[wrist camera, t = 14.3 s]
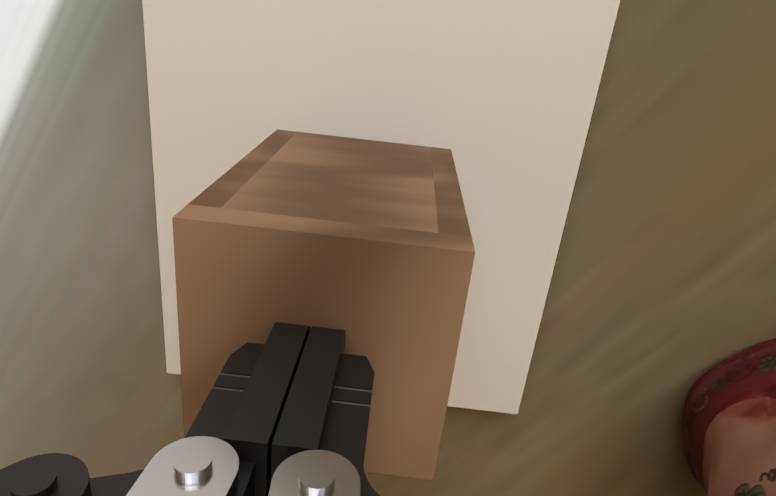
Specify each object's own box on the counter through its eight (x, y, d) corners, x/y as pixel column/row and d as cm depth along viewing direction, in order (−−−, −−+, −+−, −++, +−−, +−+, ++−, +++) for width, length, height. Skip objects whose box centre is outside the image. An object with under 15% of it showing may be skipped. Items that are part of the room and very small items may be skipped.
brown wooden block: (451, 149, 19) (475, 252, 11) (427, 302, 21) (433, 480, 13) (277, 129, 19) (172, 217, 11) (273, 284, 21) (185, 450, 13)
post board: (611, -25, 19) (825, -64, 9) (512, 393, 26) (570, 629, 16) (157, -77, 19) (-129, -171, 9) (179, 354, 26) (33, 565, 16)
